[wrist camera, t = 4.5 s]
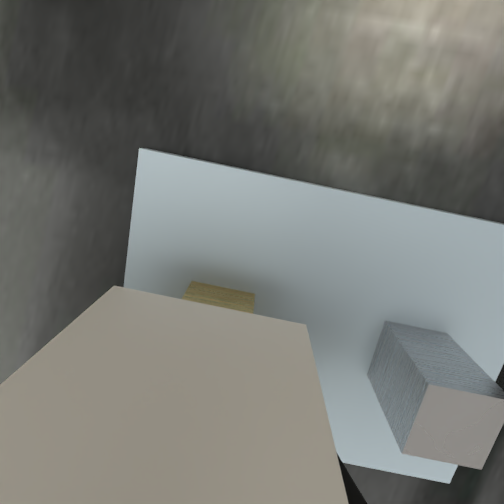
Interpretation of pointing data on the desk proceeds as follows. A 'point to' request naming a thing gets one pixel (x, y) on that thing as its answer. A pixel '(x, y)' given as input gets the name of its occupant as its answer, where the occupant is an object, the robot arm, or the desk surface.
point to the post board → (324, 276)
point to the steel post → (435, 396)
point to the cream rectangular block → (168, 410)
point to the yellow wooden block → (220, 297)
